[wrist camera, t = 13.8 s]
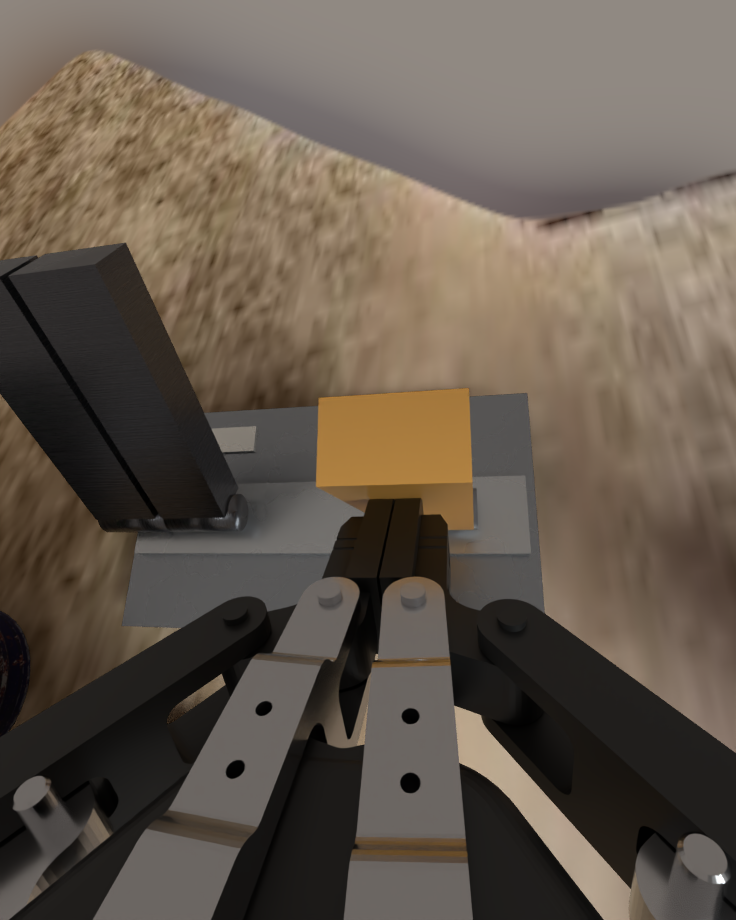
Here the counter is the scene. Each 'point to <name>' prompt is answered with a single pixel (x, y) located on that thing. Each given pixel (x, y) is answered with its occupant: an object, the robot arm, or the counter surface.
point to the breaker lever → (400, 451)
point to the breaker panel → (216, 454)
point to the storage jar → (12, 671)
